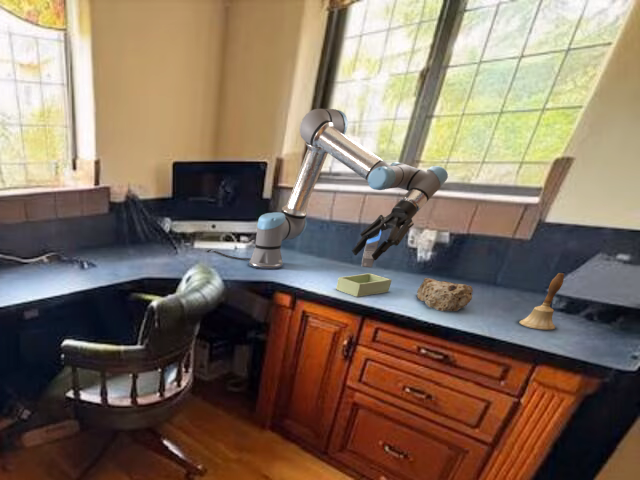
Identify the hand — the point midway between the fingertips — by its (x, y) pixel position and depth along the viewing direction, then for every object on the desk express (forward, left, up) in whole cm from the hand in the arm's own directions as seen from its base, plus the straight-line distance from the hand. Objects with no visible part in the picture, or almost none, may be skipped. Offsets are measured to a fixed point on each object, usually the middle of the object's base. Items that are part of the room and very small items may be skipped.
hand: (363, 255), depth 157 cm
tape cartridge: (0, +3, -4) cm, 5 cm away
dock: (0, +3, -14) cm, 14 cm away
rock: (+23, +16, -14) cm, 32 cm away
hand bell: (+49, +22, -14) cm, 56 cm away
